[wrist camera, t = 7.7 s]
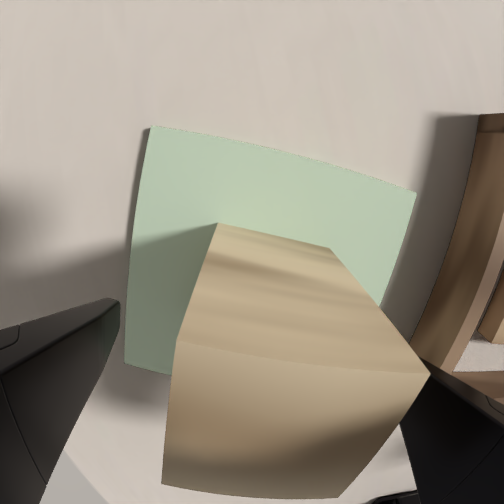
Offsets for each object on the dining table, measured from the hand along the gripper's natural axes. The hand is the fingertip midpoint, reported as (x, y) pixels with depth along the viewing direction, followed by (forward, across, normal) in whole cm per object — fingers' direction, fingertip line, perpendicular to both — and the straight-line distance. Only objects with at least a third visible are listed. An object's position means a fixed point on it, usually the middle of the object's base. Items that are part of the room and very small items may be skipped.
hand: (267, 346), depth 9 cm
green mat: (+4, 0, 0) cm, 4 cm away
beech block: (+4, 0, 0) cm, 4 cm away
